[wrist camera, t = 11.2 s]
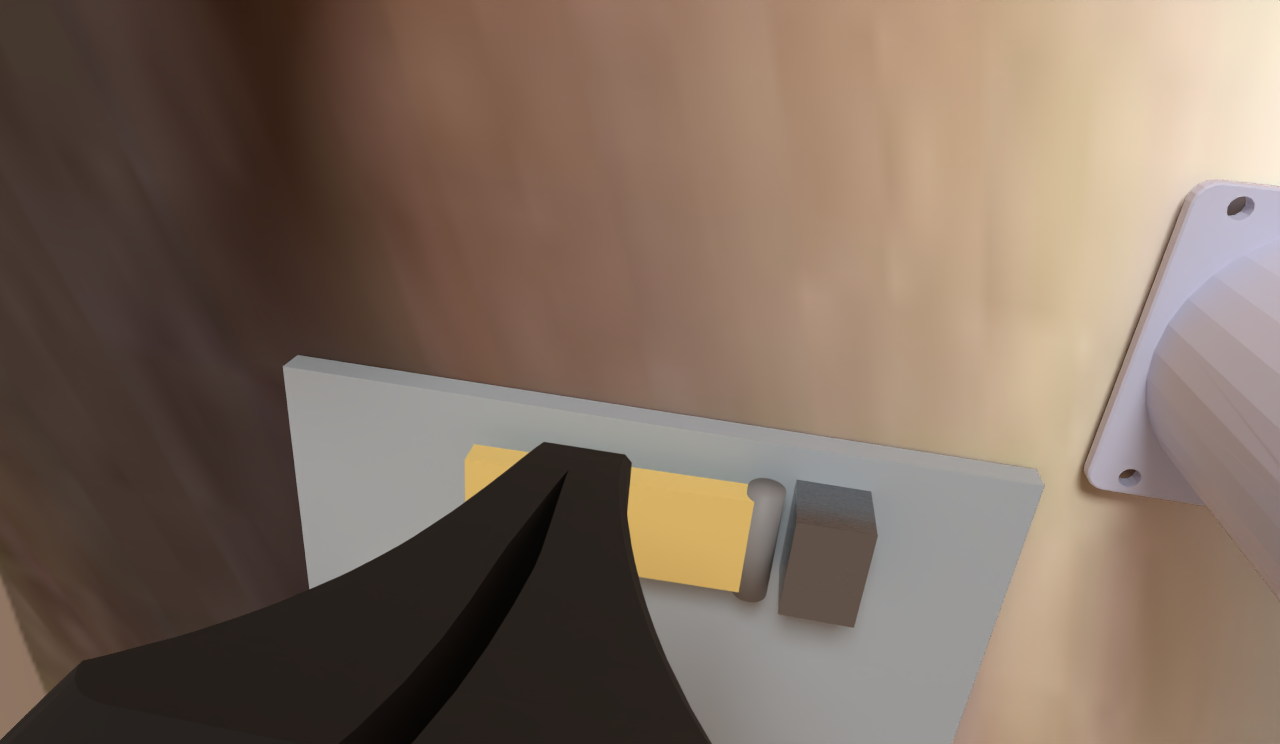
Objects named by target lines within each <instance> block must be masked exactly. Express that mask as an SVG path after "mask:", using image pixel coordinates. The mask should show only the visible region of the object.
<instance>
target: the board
mask: <svg viewBox="0 0 1280 744" xmlns="http://www.w3.org/2000/svg"><path fill="white" fill-rule="evenodd" d="M283 372H284V380H285V388H286V397H287V405H288V414H289V422H290V430H291V439H292V447H293V455H294V464H295V472H296V480H297V489H298V497H299V505H300V514H301V522H302V530H303V539H304V547H305V555H306V564H307V572H308V580H309V589H311V588H313V587H316V586H318V585H320V584H323V583H325V582H327V581H330V580H332V579H334V578H337V577H339V576H341V575H343V574H345V573H347V572H349V571H352V570H354V569H356V568H357V567H359V566H361V565H363V564H365V563H367V562H369V561H371V560H373V559H375V558H377V557H379V556H380V555H382V554H384V553H386V552H388V551H390V550H391V549H393V548H395V547H397V546H399V545H400V544H402V543H404V542H405V541H407V540H409V539H410V538H412V537H414V536H415V535H417V534H418V533H420V532H421V531H423V530H424V529H426V528H427V527H429V526H431V525H432V524H434V523H435V522H437V521H438V520H440V519H441V518H443V517H444V516H446V515H447V514H449V513H450V512H452V511H453V510H455V509H456V508H457V507H459V506H460V505H461V504H463V503H464V502H465V458H466V456H467V455H468V453H469V452H470V450H471V448H472V447H473V445H474V444H476V445H483V446H490V447H497V448H503V449H510V450H517V451H524V452H530V451H532V450H533V449H534V448H536V447H537V446H539V445H540V444H541V443H543V442H549V443H555V444H562V445H568V446H575V447H581V448H587V449H594V450H600V451H606V452H613V453H619V454H625V455H626V456H627V457H628V458H629V460H630V461H631V462H632V467H634V468H641V469H648V470H655V471H662V472H669V473H675V474H682V475H689V476H696V477H703V478H710V479H717V480H724V481H730V482H737V483H744V484H749V482H750V481H752V480H753V479H757V478H768V479H772V480H775V481H777V482H779V483H781V484H782V485H783V486H784V487H785V489H786V496H785V502H784V507H783V512H782V517H781V522H780V527H779V532H778V538H777V543H776V548H775V553H774V558H773V563H772V569H771V574H770V579H769V584H768V589H767V594H766V597H765V598H764V599H763V600H761V601H759V602H753V603H752V602H745V601H742V600H740V599H738V598H737V597H736V596H735V595H734V594H733V593H732V591H727V590H720V589H714V588H707V587H701V586H695V585H688V584H682V583H675V582H669V581H663V580H656V579H650V578H644V577H639V580H640V584H641V588H642V591H643V595H644V598H645V601H646V604H647V608H648V611H649V613H650V616H651V619H652V622H653V625H654V628H655V630H656V633H657V635H658V638H659V640H660V643H661V645H662V648H663V650H664V653H665V655H666V658H667V660H668V662H669V664H670V666H671V668H672V670H673V672H674V674H675V676H676V678H677V680H678V682H679V684H680V686H681V688H682V690H683V692H684V694H685V697H686V699H687V701H688V703H689V705H690V707H691V709H692V710H693V712H694V714H695V716H696V717H697V719H698V721H699V722H700V724H701V726H702V728H703V729H704V731H705V733H706V734H707V736H708V738H709V740H710V741H711V743H712V744H952V743H953V740H954V737H955V734H956V731H957V729H958V726H959V723H960V720H961V718H962V715H963V712H964V709H965V706H966V704H967V701H968V698H969V695H970V692H971V690H972V687H973V684H974V681H975V679H976V676H977V673H978V670H979V667H980V665H981V662H982V659H983V656H984V653H985V651H986V648H987V645H988V642H989V639H990V637H991V634H992V631H993V628H994V626H995V623H996V620H997V617H998V614H999V612H1000V609H1001V606H1002V603H1003V600H1004V598H1005V595H1006V592H1007V589H1008V587H1009V584H1010V581H1011V578H1012V575H1013V573H1014V570H1015V567H1016V564H1017V561H1018V559H1019V556H1020V553H1021V550H1022V547H1023V545H1024V542H1025V539H1026V536H1027V534H1028V531H1029V528H1030V525H1031V522H1032V520H1033V517H1034V514H1035V511H1036V508H1037V506H1038V503H1039V500H1040V497H1041V495H1042V492H1043V489H1044V484H1043V482H1042V480H1041V477H1040V475H1039V473H1038V471H1037V469H1031V468H1024V467H1018V466H1011V465H1005V464H998V463H992V462H985V461H979V460H972V459H966V458H960V457H953V456H947V455H940V454H934V453H927V452H921V451H914V450H908V449H901V448H895V447H888V446H882V445H876V444H869V443H863V442H856V441H850V440H843V439H837V438H830V437H824V436H817V435H811V434H805V433H798V432H792V431H785V430H779V429H772V428H766V427H759V426H753V425H746V424H740V423H733V422H727V421H721V420H714V419H708V418H701V417H695V416H688V415H682V414H675V413H669V412H662V411H656V410H649V409H643V408H637V407H630V406H624V405H617V404H611V403H604V402H598V401H591V400H585V399H578V398H572V397H565V396H559V395H553V394H546V393H540V392H533V391H527V390H520V389H514V388H507V387H501V386H494V385H488V384H481V383H475V382H469V381H462V380H456V379H449V378H443V377H436V376H430V375H423V374H417V373H410V372H404V371H398V370H391V369H385V368H378V367H372V366H365V365H359V364H352V363H346V362H339V361H333V360H326V359H320V358H314V357H307V356H301V355H297V356H296V357H295V358H293V359H292V360H291V361H289V362H288V363H287V364H285V365H284V366H283ZM796 480H803V481H810V482H816V483H822V484H828V485H834V486H841V487H847V488H853V489H859V490H865V491H871V493H872V500H873V507H874V513H875V520H876V527H877V534H878V538H877V541H876V545H875V549H874V553H873V557H872V561H871V564H870V568H869V572H868V576H867V580H866V584H865V588H864V591H863V595H862V599H861V603H860V607H859V611H858V614H857V618H856V622H855V626H854V628H851V627H846V626H840V625H835V624H829V623H823V622H818V621H812V620H807V619H801V618H796V617H790V616H784V615H779V614H778V592H779V565H780V560H781V555H782V550H783V545H784V540H785V535H786V530H787V525H788V520H789V515H790V510H791V505H792V500H793V495H794V490H795V485H796Z"/></svg>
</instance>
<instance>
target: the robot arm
mask: <svg viewBox="0 0 1280 744" xmlns="http://www.w3.org/2000/svg"><path fill="white" fill-rule="evenodd" d="M1238 197H1245V199H1246V203H1245V206H1244V208H1243V209H1242V210H1241V211H1240V212H1239V213H1237V214H1235V215H1230V216H1228V214H1227V208H1228V206H1229V204H1230V203H1231V201H1233V200H1234V199H1236V198H1238ZM631 467H632V462H631V461H630V460H629V458H628V457H627V456H626V455H625V454H619V453H613V452H606V451H600V450H594V449H587V448H581V447H575V446H568V445H562V444H555V443H549V442H543V443H541V444H540V445H539V446H537V447H536V448H534V449H533V450H532V451H530V452H529V453H528V454H527V455H525V456H524V457H523V458H522V459H520V460H519V461H518V462H517V463H515V464H514V465H513V466H511V467H510V468H509V469H508V470H506V471H505V472H504V473H503V474H501V475H500V476H499V477H497V478H496V479H495V480H494V481H492V482H491V483H490V484H488V485H487V486H486V487H484V488H483V489H482V490H480V491H479V492H478V493H476V494H475V495H474V496H472V497H471V498H470V499H468V500H467V501H465V502H464V503H463V504H461V505H460V506H459V507H457V508H456V509H455V510H453V511H452V512H450V513H449V514H447V515H446V516H444V517H443V518H441V519H440V520H438V521H437V522H435V523H434V524H432V525H431V526H429V527H427V528H426V529H424V530H423V531H421V532H420V533H418V534H417V535H415V536H414V537H412V538H410V539H409V540H407V541H405V542H404V543H402V544H400V545H399V546H397V547H395V548H393V549H391V550H390V551H388V552H386V553H384V554H382V555H380V556H379V557H377V558H375V559H373V560H371V561H369V562H367V563H365V564H363V565H361V566H359V567H357V568H356V569H354V570H352V571H349V572H347V573H345V574H343V575H341V576H339V577H337V578H334V579H332V580H330V581H327V582H325V583H323V584H320V585H318V586H316V587H313V588H311V589H309V590H306V591H304V592H302V593H300V594H297V595H295V596H293V597H290V598H288V599H286V600H283V601H281V602H278V603H276V604H273V605H271V606H268V607H265V608H262V609H260V610H257V611H254V612H251V613H249V614H246V615H243V616H240V617H238V618H235V619H232V620H228V621H225V622H222V623H219V624H216V625H213V626H210V627H207V628H204V629H201V630H198V631H194V632H191V633H188V634H184V635H181V636H178V637H174V638H170V639H167V640H163V641H159V642H155V643H151V644H148V645H144V646H140V647H136V648H132V649H128V650H125V651H121V652H117V653H113V654H109V655H106V656H102V657H97V658H93V659H88V660H84V661H82V662H81V663H80V664H79V665H78V666H77V667H75V668H74V669H73V670H72V671H71V672H70V673H69V674H68V675H67V676H66V677H65V678H64V679H63V680H61V681H60V682H59V683H58V684H57V685H56V686H55V687H54V688H53V689H52V690H51V691H50V692H49V693H48V694H47V695H46V696H45V697H44V698H43V699H42V700H41V701H40V702H39V703H38V704H37V705H36V706H35V707H34V708H33V709H32V710H31V711H29V713H28V714H26V715H25V716H24V718H22V719H21V720H20V721H19V722H18V723H17V724H16V725H15V726H14V727H13V728H12V729H11V730H10V731H9V732H8V733H7V734H6V735H5V736H4V737H3V738H2V739H1V740H0V744H712V743H711V741H710V740H709V738H708V736H707V734H706V733H705V731H704V729H703V728H702V726H701V724H700V722H699V721H698V719H697V717H696V716H695V714H694V712H693V710H692V709H691V707H690V705H689V703H688V701H687V699H686V697H685V694H684V692H683V690H682V688H681V686H680V684H679V682H678V680H677V678H676V676H675V674H674V672H673V670H672V668H671V666H670V664H669V662H668V660H667V658H666V655H665V653H664V650H663V648H662V645H661V643H660V640H659V638H658V635H657V633H656V630H655V628H654V625H653V622H652V619H651V616H650V613H649V611H648V608H647V604H646V601H645V598H644V595H643V591H642V588H641V584H640V580H639V576H638V572H637V568H636V564H635V560H634V555H633V550H632V544H631V538H630V531H629V524H628V517H627V510H628V499H629V488H630V478H631ZM1127 469H1135V472H1134V474H1133V475H1132V476H1130V477H1128V478H1119V475H1120V474H1121V473H1122V472H1123V471H1125V470H1127ZM1084 473H1085V475H1086V477H1087V479H1088V481H1089V483H1090V484H1091V485H1093V486H1094V487H1095V488H1098V489H1101V490H1105V491H1112V492H1118V493H1124V494H1131V495H1137V496H1144V497H1150V498H1156V499H1163V500H1169V501H1176V502H1182V503H1188V504H1195V505H1201V506H1207V507H1208V509H1209V510H1210V511H1211V513H1212V514H1213V515H1214V516H1215V518H1216V519H1217V520H1218V522H1219V523H1220V524H1221V526H1222V527H1223V528H1224V529H1225V531H1226V532H1227V533H1228V535H1229V536H1230V537H1231V539H1232V540H1233V541H1234V542H1235V544H1236V545H1237V546H1238V548H1239V549H1240V550H1241V552H1242V553H1243V554H1244V555H1245V557H1246V558H1247V559H1248V561H1249V562H1250V563H1251V564H1252V566H1253V567H1254V568H1255V570H1256V571H1257V572H1258V574H1259V575H1260V576H1261V577H1262V579H1263V580H1264V581H1265V583H1266V584H1267V585H1268V587H1269V588H1270V589H1271V590H1272V592H1273V593H1274V594H1275V596H1276V597H1277V598H1278V600H1279V601H1280V186H1273V185H1264V184H1256V183H1247V182H1238V181H1229V180H1220V179H1214V180H1207V181H1204V182H1202V183H1199V184H1198V185H1197V186H1195V187H1194V188H1193V189H1192V190H1191V191H1190V192H1189V194H1188V195H1187V197H1186V199H1185V201H1184V204H1183V207H1182V209H1181V212H1180V214H1179V217H1178V220H1177V222H1176V225H1175V228H1174V230H1173V233H1172V236H1171V238H1170V241H1169V243H1168V246H1167V249H1166V251H1165V254H1164V257H1163V259H1162V262H1161V265H1160V267H1159V270H1158V272H1157V275H1156V278H1155V280H1154V283H1153V286H1152V288H1151V291H1150V294H1149V296H1148V299H1147V301H1146V304H1145V307H1144V309H1143V312H1142V315H1141V317H1140V320H1139V323H1138V325H1137V328H1136V331H1135V333H1134V336H1133V338H1132V341H1131V344H1130V346H1129V349H1128V352H1127V354H1126V357H1125V360H1124V362H1123V365H1122V367H1121V370H1120V373H1119V375H1118V378H1117V381H1116V383H1115V386H1114V389H1113V391H1112V394H1111V396H1110V399H1109V402H1108V404H1107V407H1106V410H1105V412H1104V415H1103V418H1102V420H1101V423H1100V425H1099V428H1098V431H1097V433H1096V436H1095V439H1094V441H1093V444H1092V447H1091V449H1090V452H1089V454H1088V457H1087V460H1086V462H1085V466H1084Z"/></svg>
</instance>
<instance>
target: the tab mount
mask: <svg viewBox="0 0 1280 744" xmlns="http://www.w3.org/2000/svg"><path fill="white" fill-rule="evenodd" d="M877 538H878V534H877V527H876V520H875V513H874V507H873V500H872V493H871V491H865V490H859V489H853V488H847V487H841V486H834V485H828V484H822V483H816V482H810V481H803V480H796V485H795V490H794V495H793V500H792V505H791V510H790V515H789V520H788V525H787V530H786V535H785V540H784V545H783V550H782V555H781V560H780V565H779V592H778V614H779V615H784V616H790V617H796V618H801V619H807V620H812V621H818V622H823V623H829V624H835V625H840V626H846V627H851V628H854V626H855V622H856V618H857V614H858V611H859V607H860V603H861V599H862V595H863V591H864V588H865V584H866V580H867V576H868V572H869V568H870V564H871V561H872V557H873V553H874V549H875V545H876V541H877Z"/></svg>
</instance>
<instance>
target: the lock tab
mask: <svg viewBox="0 0 1280 744" xmlns="http://www.w3.org/2000/svg"><path fill="white" fill-rule="evenodd" d="M528 453H529V452H524V451H517V450H510V449H503V448H497V447H490V446H483V445H476V444H474V445H473V447H472V448H471V450H470V452H469V453H468V455H467V456H466V458H465V501H467V500H468V499H470V498H471V497H472V496H474V495H475V494H476V493H478V492H479V491H480V490H482V489H483V488H484V487H486V486H487V485H488V484H490V483H491V482H492V481H494V480H495V479H496V478H497V477H499V476H500V475H501V474H503V473H504V472H505V471H506V470H508V469H509V468H510V467H511V466H513V465H514V464H515V463H517V462H518V461H519V460H520V459H522V458H523V457H524V456H525V455H527V454H528ZM785 496H786V489H785V487H784V486H783V485H782V484H781V483H779V482H777V481H775V480H772V479H768V478H757V479H753V480H752V481H750V482H749V484H744V483H737V482H730V481H724V480H717V479H710V478H703V477H696V476H689V475H682V474H675V473H669V472H662V471H655V470H648V469H641V468H634V467H631V478H630V488H629V499H628V510H627V517H628V524H629V531H630V538H631V544H632V550H633V555H634V560H635V564H636V568H637V572H638V576H639V577H644V578H650V579H656V580H663V581H669V582H675V583H682V584H688V585H695V586H701V587H707V588H714V589H720V590H727V591H732V593H733V594H734V595H735V596H736V597H737V598H738V599H740V600H742V601H745V602H752V603H753V602H759V601H761V600H763V599H764V598H765V597H766V594H767V589H768V584H769V579H770V574H771V569H772V563H773V558H774V553H775V548H776V543H777V538H778V532H779V527H780V522H781V517H782V512H783V507H784V502H785Z"/></svg>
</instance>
